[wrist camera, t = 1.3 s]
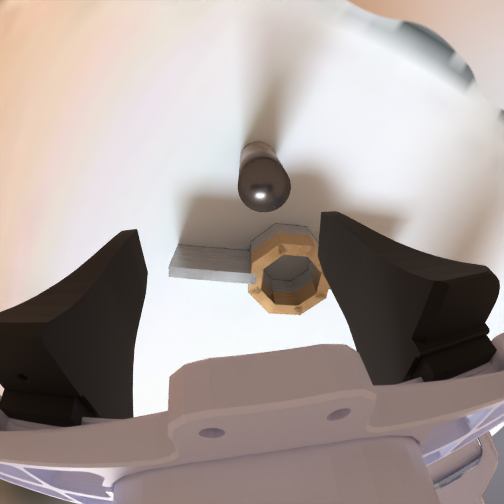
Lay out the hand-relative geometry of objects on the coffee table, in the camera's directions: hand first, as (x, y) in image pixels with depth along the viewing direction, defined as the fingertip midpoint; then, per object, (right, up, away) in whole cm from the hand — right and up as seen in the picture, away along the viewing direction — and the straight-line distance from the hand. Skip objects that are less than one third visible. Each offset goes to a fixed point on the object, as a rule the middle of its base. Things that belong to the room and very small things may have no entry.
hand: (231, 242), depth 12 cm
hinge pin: (+1, +6, +9) cm, 11 cm away
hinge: (+3, -1, +13) cm, 13 cm away
